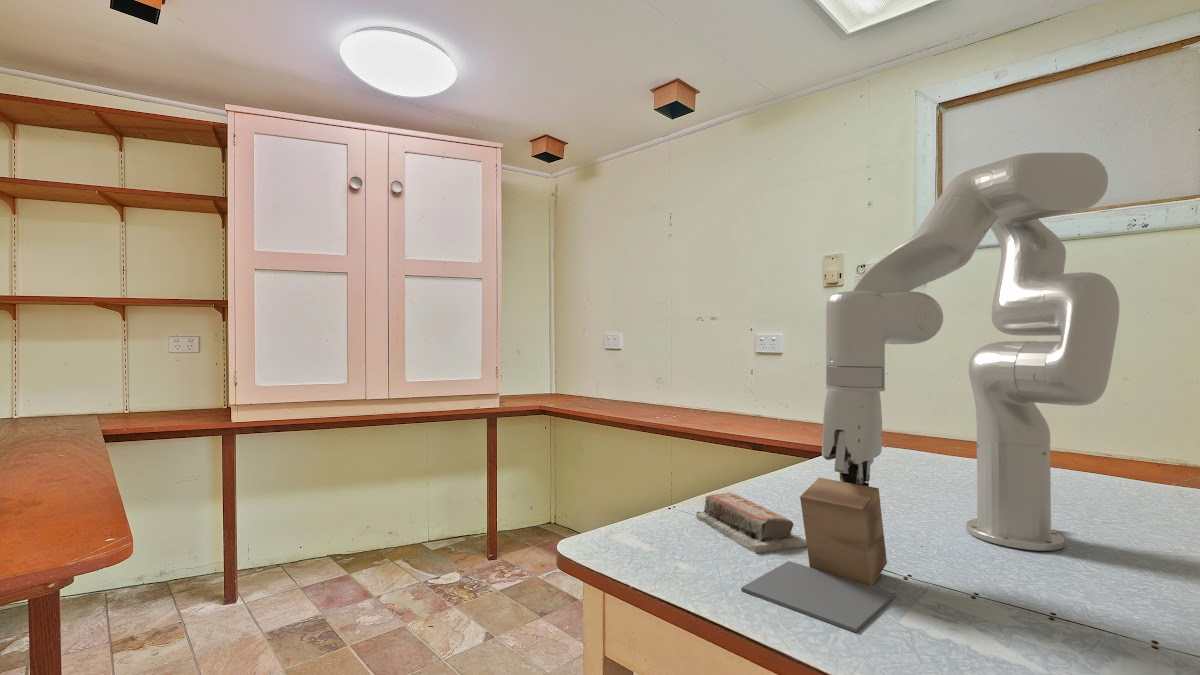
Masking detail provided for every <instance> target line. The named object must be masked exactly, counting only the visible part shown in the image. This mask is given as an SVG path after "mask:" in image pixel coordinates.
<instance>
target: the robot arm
mask: <svg viewBox="0 0 1200 675" xmlns="http://www.w3.org/2000/svg"><path fill="white" fill-rule="evenodd" d="M1108 185H1109V177H1108V173H1107V169H1106V167H1105V166H1104V164H1103V163H1102V162H1101V161H1100V159H1098V158H1097V157H1095V156H1093V155H1091V154H1089V153H1087V152H1030V153H1029V152H1028V153H1023V154H1022V153H1021V154H1017V155H1014V156H1010V157H1006V158H1003V159H1000V160H997V161H993V162H990V163H987V164H985V165H980V166H977V167H973V168H971V169H969V170H966V171H964V172H962V173H960V174H958V175H957V176H955V177H954V178H953V179H952V180H950V182H949V183H948V184H947V186H946V187H945V189H944V190H943V191H942V193H941V194H940V196H939V198H938V199H937V201H936V202H935V204H934V205H933V207H932V208H931V209H930V211H929V213H927V215H926V217H925V218H924V220H923V221H922V223H921V224H920V226H919V227H918V229H917V231H915V233H914V234H912V236H911V237H909V238H908V239H907V240H905V241H904V242H902V243H901V244H900V245H898V246H897V247H895V248H894V249H893V250H892V251H890V252H889V253H888V254H886V255H885V256H884V257H882V258H881V259H879V261H877V262H876V263H874V264H873V265H872V266H871V267H870V268H869V269H868V270H866V272H865V273H864V274H862V276H861V277H860V278H859V280H858V281H857V282H856V284H855V285H854V286H853V288H852V289H851V290H850V291H849V290H847V291H841V292H840V291H839V292H835V293H833V294H831V295H830V296H829V297H828V298H827V301H826V310H825V311H826V313H825V316H826V317H825V318H826V319H825V320H826V322H825V323H826V328H825V329H826V332H825V333H826V336H825V338H826V340H825V341H826V342H825V346H826V347H825V350H826V351H825V352H826V353H825V362H826V363H825V365H826V366H825V367H826V368H825V374H826V375H825V376H826V377H825V384H826V385H825V386H826V387H825V389H826V390H827V391H826V396H825V401H824V408H823V409H824V410H823V421H822V438H821V455H822V457H823V459H825V460H827V461H831V460H835V461H834V467H833V468H834V471H835V473H839V480H840V481H841V482H847V483H852V484H858V485H864V486H869V487H870V478H871V466H872V464H874V459H875V458H878V457H879V456H880V455H881V453H882V449H883V416H882V403H881V392H885V391H886V357H885V356H886V345H916V344H921V343H925V342H926V341H929V340H932V339H933V337H935V336H936V335H937V334H938V333H939V332H940V330H941V328H942V326H943V322H944V313H943V310H942V307H941V305H940V304H939V302H938V301H937V300H936V299H935V298H933V297H932V296H931V295H928V294H927V293H923V292H920V291H913V290H914V289H917V288H919V287H921V286H923V285H926V284H928V283H931V282H933V281H936V280H938V279H940V278H943V277H945V276H948V275H949V274H951V273H953V272H955V271H957V270H959V269H961V268H963V266H965V265H967V264H968V263H969V262H970V261H971V259H972V258H973V256H974V255H975V253H976V251H977V249H978V248H979V247H980V245H981V243H982V241H984V239H985V237H986V235H987V233H989V231H990V230H991V232H992V233H993V235H994V236H995V238H996V241H998V244H999V247H1000V254H1001V255H1000V264H999V267H998V268H999V270H998V275H997V280H996V285H995V289H994V290H995V291H994V293H993V300H992V305H991V321H992V324H993V327H994V328H996V330H997V331H999V332H1001V333H1002V334H1006V335H1011V336H1023V337H1026V336H1028V337H1029V336H1031V337H1032V336H1035V337H1036V336H1037V337H1039V336H1041V337H1042V336H1043V337H1044V336H1045V337H1046V336H1049V337H1051V336H1054V337H1055V336H1060V340H1058V341H1055V340H1054V341H1049V340H1048V341H1043V340H1042V341H1037V340H1036V341H1035V340H1029V341H1028V340H1027V341H1026V340H1024V341H1022V340H1019V341H1013V340H1012V341H1007V340H1006V341H997V342H996V341H995V342H990V343H988V344H984V345H982V346H981V347H979V348H978V349H977V350H976V351H975V352H974V353H972V355H971V357H970V360H969V363H968V376H969V380H970V385H971V389H972V393H973V400H974V404H975V405H974V406H975V415H976V490H977V491H976V493H977V494H976V495H977V496H976V500H977V502H976V503H977V504H976V507H977V511H976V512H977V513H976V514H977V518H972V519H970V520H968V521H966V524H965V526H966V528H965V529H966V531H967V532H968V533H969V534H970V535H971V536H973V537H975V538H978V539H980V540H983V541H986V542H988V543H993V544H995V545H999V546H1004V547H1008V548H1013V549H1021V550H1026V551H1039V552H1040V551H1043V552H1045V551H1047V552H1048V551H1058V550H1061V549H1063V548H1064V547H1065V538H1064V537H1063V536H1062V535H1061V534H1060V533H1059V532H1057V531H1054V530H1052V515H1051V514H1052V503H1051V501H1052V499H1051V496H1052V494H1051V492H1052V490H1051V431H1050V427H1049V424H1048V422H1047V420H1046V418H1045V417H1044V415H1043V413H1042V412H1041V410H1040V409H1039V408H1038V406H1037V405H1036V403H1037V404H1048V405H1049V404H1051V405H1057V406H1059V405H1061V406H1076V407H1077V406H1080V407H1081V406H1087V405H1091V404H1094V403H1096V402H1097V401H1099V399H1101V397H1102V396H1103V395H1104V393H1105V392H1106V388H1107V385H1108V383H1109V378H1110V377H1109V376H1110V373H1111V368H1112V367H1111V366H1112V360H1113V356H1114V351H1115V350H1114V349H1115V345H1116V344H1115V343H1116V338H1117V333H1118V326H1119V318H1120V299H1119V295H1118V292H1117V289H1116V287H1115V285H1114V284H1113V283H1112V281H1111V280H1110V279H1109V278H1107V277H1106V276H1104V275H1102V274H1099V273H1096V272H1087V271H1086V272H1085V271H1081V272H1072V273H1071V272H1069V273H1065V265H1066V257H1067V249H1066V246H1065V244H1064V243H1063V241H1062V240H1061V239H1060V238H1059V237H1058V236H1057V235H1056V233H1054V232H1053V231H1052V230H1051V229H1050V228H1048V227H1047V226H1046V225H1045V224H1044V223H1043V222H1042V221H1041V220H1040V219H1044V218H1050V217H1056V216H1061V215H1066V214H1070V213H1077V212H1081V211H1084V210H1085V211H1086V210H1087V209H1090V208H1092V207H1093V206H1096V205H1097V204H1098V203H1099V202H1100V201H1101V200H1102V199H1103V197H1104V196H1105V194H1106V192H1107V189H1108Z"/></svg>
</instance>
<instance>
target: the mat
mask: <svg viewBox="0 0 1200 675" xmlns="http://www.w3.org/2000/svg"><path fill="white" fill-rule="evenodd" d="M740 589H741V591H742V592H744V593H746V594H749V595H752V596H755V597H758V598H760V599H763V600H766V601H769V602H771V603H774V604H777V605H779V606H782V607H785V608H787V609H791V610H793V611H796V612H799V613H802V614H804V615H807V616H809V617H812V618H815V619H818V620H819V621H820V620H821V621H822V622H823V621H824V622H826V623H828V624H831V625H834V626H836V627H840V628H841V629H842V628H843V629H845V630H847V631H850V632H853V633H857V632H858V631H860V630H861V629H862V628H863V627H864V626H865V625H866V624H867V623H868V622H870V620H872V619H873V617H875V616H876V615H877V614H878V613H880V611H881V610H882V609H884V608H885V607H886V606H887V605H888V604H889V603H890V602H891V601H893V599H895V598H896V595H897V594H896V592H893V591H891V590H890V591H889V590H887V589H884V588H883V589H882V588H880V587H876V586H874V585H873V586H870V585H867V584H864V583H860V582H857V581H854V580H851V579H847V578H844V577H841V576H837V575H834V574H831V573H827V572H824V571H821V570H817V569H814V568H811V567H810V566H808V565H807V566H806V565H803V564H800V563H798V562H793V561H791V560H788V561H786V562H784V563H782V564H781V565H779V566H777V567H775V568H774V569H772V570H770V571H768V572H767V573H764V574H762V575H761V576H759V577H757V578H756V579H754V580H752V581H750V582H749V583H746V584H745V585H743V586H742V587H741V588H740Z"/></svg>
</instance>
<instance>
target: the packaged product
mask: <svg viewBox="0 0 1200 675" xmlns="http://www.w3.org/2000/svg"><path fill="white" fill-rule="evenodd" d="M704 503H705V504H704V509H703V510H704V511H696V514H695V515H696V518H697V519H696V520H698V519H699V520H698V521H700V520H701V521H703V522H705V523H706V524H708V525H709V526H711V527H712V528H714V529H716V530H717V531H719V532H720V533H719V532H718V533H719V534H721V533H722V534H723V535H722V534H721V535H722V536H724V535H725V536H724V537H725V538H727V537H728V538H727V539H729V538H730V539H729V540H731V541H732V540H733V541H732V542H734V541H735V542H734V543H735V544H738V545H740V546H741V547H743V548H745V549H746V548H747V550H748V549H749V550H748V551H749V552H752V551H753V552H752V553H754V552H755V553H754V554H760V553H759V552H762V553H767V552H766V551H769V552H775V551H774V550H776V551H781V550H783V551H784V550H789V549H795V548H802V547H807V543H806V538H802V537H801V536H800V535H799V534H796V533H795V534H794V533H792V529H793V527H794V522H793V521H792V520H790V519H789V518H787V517H785V516H783V515H781V514H779V513H776V512H774V511H772V510H770V509H768V508H765V507H763V506H762V505H760V504H757V503H756V502H753V501H752V500H749V499H748V498H745V497H743V496H741V495H739V494H736V493H731V492H727V493H716V494H708V495H706V496H705V500H704ZM701 521H700V522H701ZM703 522H702V523H703ZM705 523H704V524H705ZM706 524H705V525H706ZM708 525H707V526H708ZM709 526H708V527H709ZM711 527H710V528H711ZM712 528H711V529H712ZM714 529H713V530H714ZM716 530H715V531H716ZM717 531H716V532H717Z"/></svg>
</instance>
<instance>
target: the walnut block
mask: <svg viewBox="0 0 1200 675" xmlns="http://www.w3.org/2000/svg"><path fill="white" fill-rule="evenodd" d="M879 489H880V488H879V487H874V486H870V485H869V486H864V485H858V484H852V483H847V482H841V481H839V480H835V479H831V478H830V479H829V478H823V477H818V478H816V480H815V481H814V482H813V483H812V484H811V485H809V487H808V488H807V489H805V491H804V492H803V493H802V494H801V495H800V496H799V498H800V506H801V513H802V521H803V528H804V529H803V530H804V534H805V539H806V543H807V546H806V548H807V557H808V564H809V567H811V568H814V569H817V570H821V571H824V572H827V573H831V574H834V575H837V576H841V577H844V578H847V579H851V580H854V581H857V582H860V583H864V584H867V585H870V586H874V584H875V582H876V581H877V579H878V578H879V576H880V575H881V573H882V572H883V571H884V569H885V567H886V566H887V563H888V559H887V553H886V552H887V551H886V540H885V533H884V532H885V531H884V523H883V517H882V506H881V497H880V490H879Z"/></svg>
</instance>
